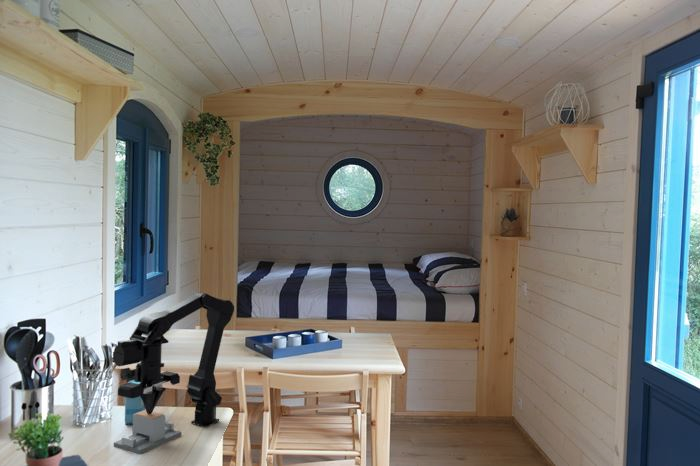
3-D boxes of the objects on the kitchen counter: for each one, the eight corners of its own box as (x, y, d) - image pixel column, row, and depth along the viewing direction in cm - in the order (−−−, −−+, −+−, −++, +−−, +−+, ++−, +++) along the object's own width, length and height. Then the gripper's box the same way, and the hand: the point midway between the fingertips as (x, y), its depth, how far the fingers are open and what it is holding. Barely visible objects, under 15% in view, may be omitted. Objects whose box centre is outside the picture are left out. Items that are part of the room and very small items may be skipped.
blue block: (139, 424, 180) (140, 386, 180) (124, 425, 179) (125, 386, 179) (145, 411, 192) (146, 375, 191) (130, 412, 191) (132, 376, 190)
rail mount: (156, 428, 177) (156, 418, 177) (181, 435, 173) (181, 425, 173) (113, 446, 163) (114, 435, 163) (139, 453, 159) (140, 442, 158)
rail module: (144, 431, 172) (145, 409, 172) (164, 437, 168) (165, 414, 168) (132, 436, 168) (133, 413, 168) (153, 442, 164) (153, 418, 164)
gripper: (154, 350, 179) (152, 400, 180) (104, 362, 163) (103, 417, 163) (181, 355, 174) (180, 406, 175) (133, 368, 158) (131, 425, 158)
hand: (149, 413), depth 168 cm, fingers closed
